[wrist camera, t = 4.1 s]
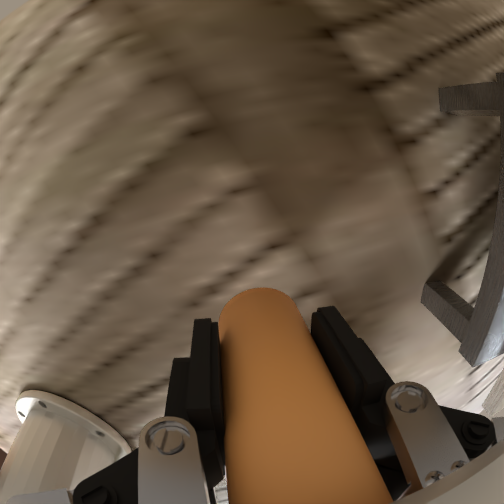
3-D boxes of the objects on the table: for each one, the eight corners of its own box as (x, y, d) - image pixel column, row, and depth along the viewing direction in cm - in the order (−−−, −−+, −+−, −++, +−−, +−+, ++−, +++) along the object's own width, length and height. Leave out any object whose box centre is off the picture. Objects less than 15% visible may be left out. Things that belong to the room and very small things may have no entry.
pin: (308, 358, 12) (398, 569, 3) (212, 368, 12) (226, 607, 2) (313, 270, 11) (493, 519, 1) (199, 279, 10) (185, 613, 1)
